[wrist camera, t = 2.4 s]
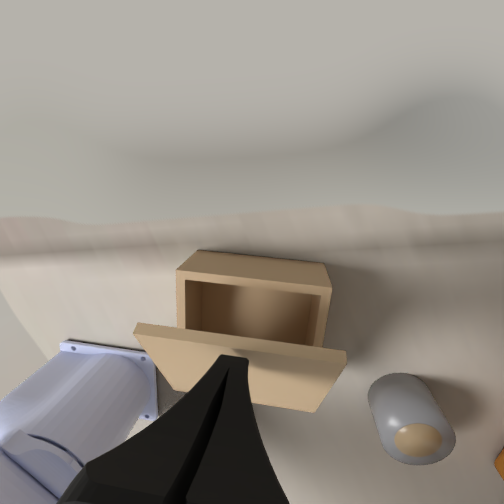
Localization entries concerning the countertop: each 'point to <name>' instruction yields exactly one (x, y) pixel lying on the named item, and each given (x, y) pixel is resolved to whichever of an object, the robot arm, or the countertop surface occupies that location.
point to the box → (254, 297)
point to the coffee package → (500, 464)
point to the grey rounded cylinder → (410, 420)
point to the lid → (260, 364)
